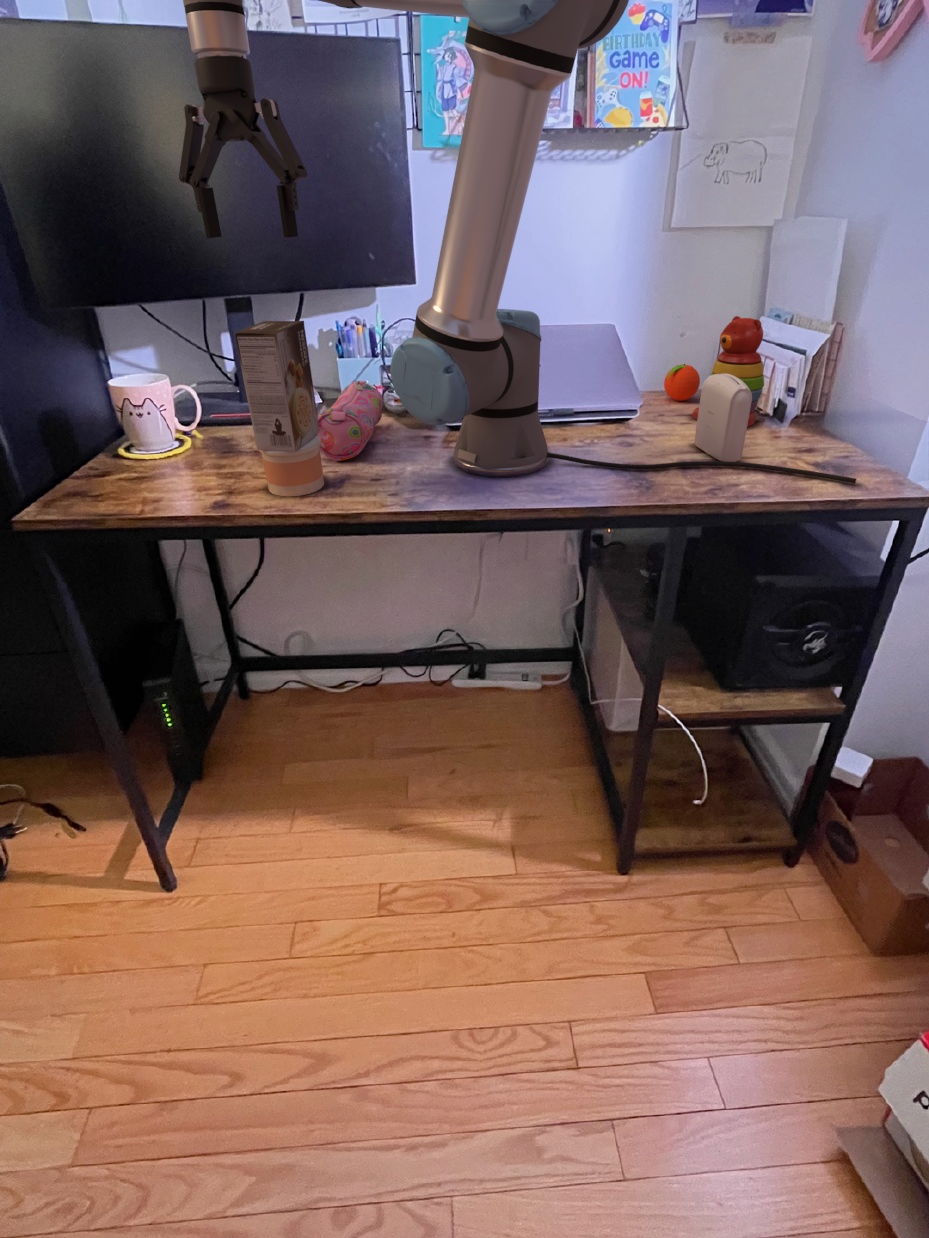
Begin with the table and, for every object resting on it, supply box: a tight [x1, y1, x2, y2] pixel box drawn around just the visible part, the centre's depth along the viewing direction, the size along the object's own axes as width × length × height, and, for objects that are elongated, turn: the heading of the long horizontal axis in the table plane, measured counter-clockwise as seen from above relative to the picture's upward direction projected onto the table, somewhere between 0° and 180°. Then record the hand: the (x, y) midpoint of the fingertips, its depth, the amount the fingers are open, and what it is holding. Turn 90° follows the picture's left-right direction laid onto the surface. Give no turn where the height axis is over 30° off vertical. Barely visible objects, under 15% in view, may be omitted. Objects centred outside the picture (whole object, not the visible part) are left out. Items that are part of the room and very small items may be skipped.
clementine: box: [663, 363, 701, 402], centre depth 141 cm, size 8×7×7 cm
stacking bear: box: [691, 315, 765, 428], centre depth 125 cm, size 11×10×18 cm
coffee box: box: [234, 320, 320, 451], centre depth 100 cm, size 9×6×16 cm
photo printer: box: [694, 374, 752, 462], centre depth 112 cm, size 10×4×12 cm, turn 11°
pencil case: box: [316, 380, 384, 461], centre depth 122 cm, size 21×9×9 cm, turn 176°
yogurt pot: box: [258, 435, 325, 497], centre depth 106 cm, size 9×9×7 cm
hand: (252, 237), depth 106 cm, fingers open, 13 cm apart
